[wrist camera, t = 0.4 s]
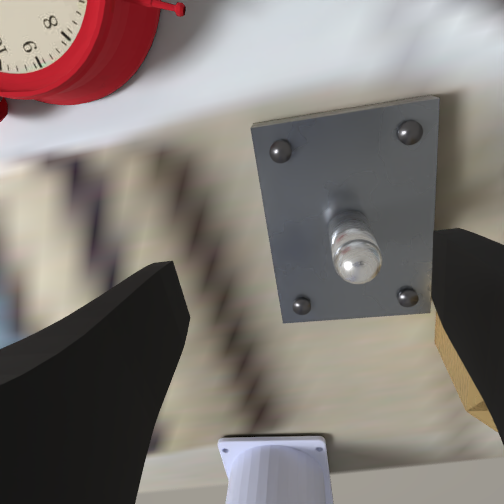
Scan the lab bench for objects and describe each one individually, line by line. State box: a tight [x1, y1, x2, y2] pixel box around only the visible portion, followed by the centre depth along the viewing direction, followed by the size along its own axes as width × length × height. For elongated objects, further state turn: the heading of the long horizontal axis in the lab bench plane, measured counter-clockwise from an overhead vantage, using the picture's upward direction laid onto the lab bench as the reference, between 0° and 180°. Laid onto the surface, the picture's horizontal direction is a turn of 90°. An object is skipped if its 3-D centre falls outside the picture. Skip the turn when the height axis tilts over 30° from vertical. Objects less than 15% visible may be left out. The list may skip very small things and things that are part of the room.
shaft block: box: [251, 95, 440, 323], centre depth 18 cm, size 11×8×5 cm
